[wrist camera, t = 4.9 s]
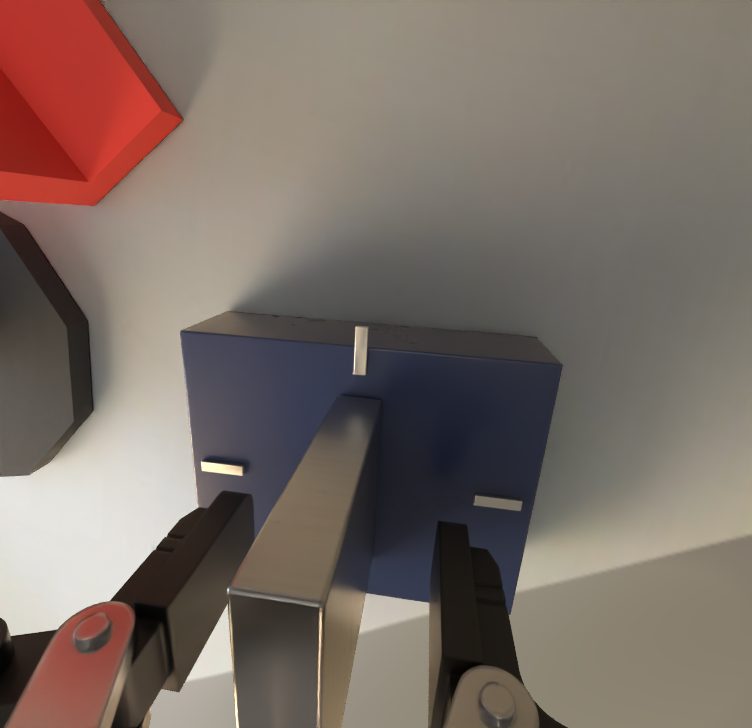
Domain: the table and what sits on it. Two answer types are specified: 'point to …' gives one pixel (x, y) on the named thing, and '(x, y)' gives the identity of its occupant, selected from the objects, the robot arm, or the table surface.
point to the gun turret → (37, 356)
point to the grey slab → (308, 579)
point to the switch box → (398, 431)
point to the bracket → (72, 103)
